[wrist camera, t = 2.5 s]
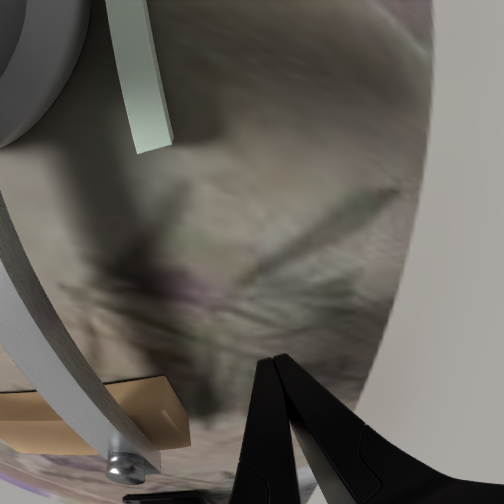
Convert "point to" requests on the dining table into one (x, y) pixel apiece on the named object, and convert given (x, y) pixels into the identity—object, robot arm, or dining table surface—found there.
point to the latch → (64, 367)
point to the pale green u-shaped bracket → (139, 74)
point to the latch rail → (70, 443)
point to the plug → (36, 58)
